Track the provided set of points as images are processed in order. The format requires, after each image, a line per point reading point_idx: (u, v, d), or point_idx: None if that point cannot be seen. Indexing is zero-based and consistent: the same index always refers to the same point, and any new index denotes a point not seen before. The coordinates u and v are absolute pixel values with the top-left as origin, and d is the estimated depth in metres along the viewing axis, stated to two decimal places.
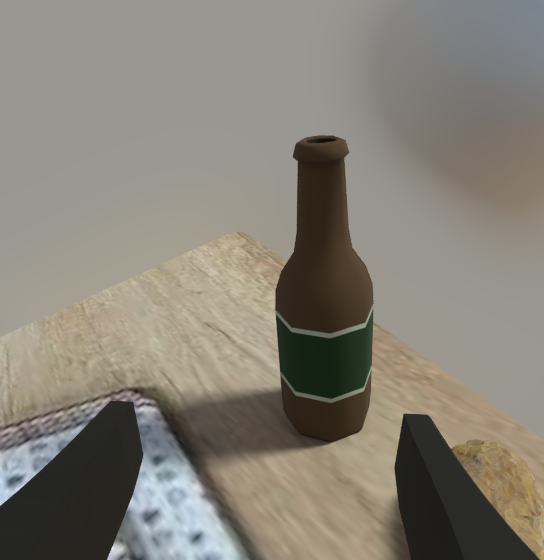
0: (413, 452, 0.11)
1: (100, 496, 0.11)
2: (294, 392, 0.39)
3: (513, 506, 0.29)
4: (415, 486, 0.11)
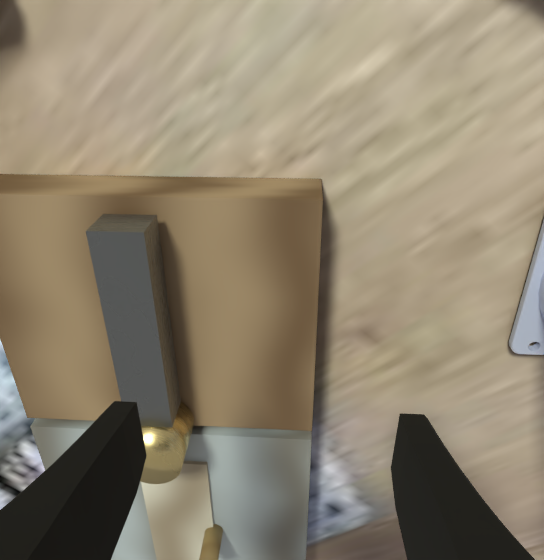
0: (409, 452, 0.11)
1: (104, 497, 0.11)
2: None
3: None
4: (411, 486, 0.11)
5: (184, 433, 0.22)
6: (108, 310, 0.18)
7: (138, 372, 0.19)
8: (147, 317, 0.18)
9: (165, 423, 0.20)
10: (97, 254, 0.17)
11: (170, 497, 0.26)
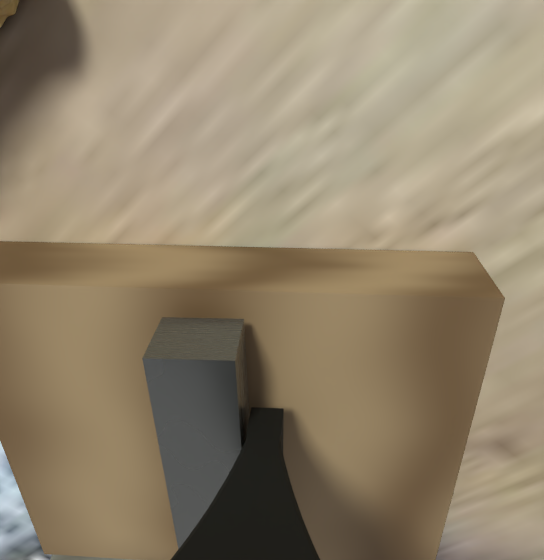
0: None
1: None
2: None
3: None
4: None
5: None
6: (171, 461, 0.12)
7: None
8: (229, 471, 0.12)
9: None
10: (159, 390, 0.11)
11: None
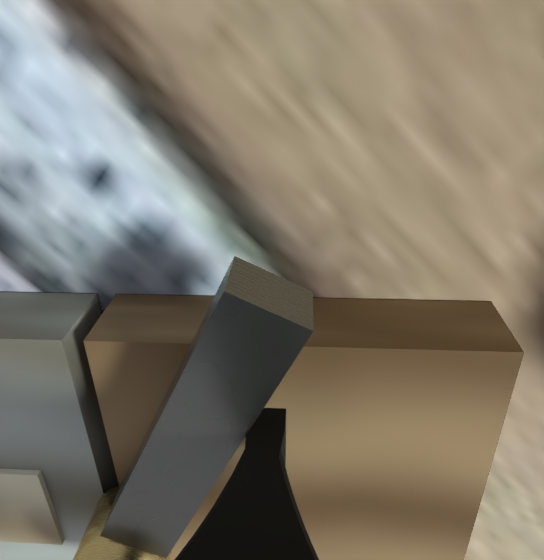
0: None
1: None
2: None
3: None
4: None
5: (169, 558, 0.15)
6: (179, 402, 0.11)
7: (166, 487, 0.12)
8: (232, 431, 0.11)
9: (160, 551, 0.14)
10: (218, 329, 0.10)
11: None
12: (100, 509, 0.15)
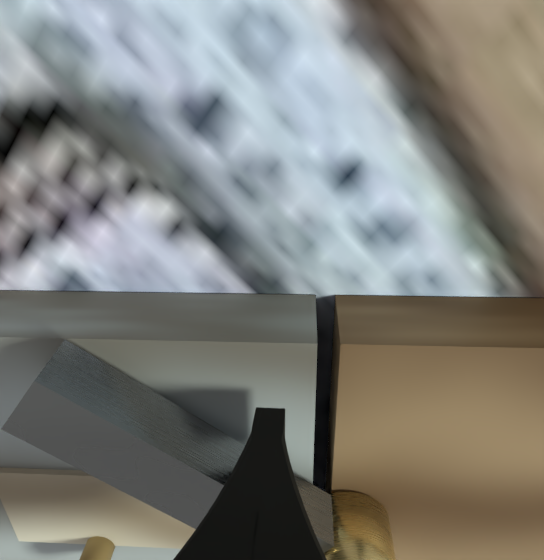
0: None
1: None
2: None
3: None
4: None
5: (365, 534, 0.14)
6: (118, 482, 0.12)
7: None
8: (154, 458, 0.12)
9: (321, 547, 0.13)
10: (38, 441, 0.12)
11: None
12: None
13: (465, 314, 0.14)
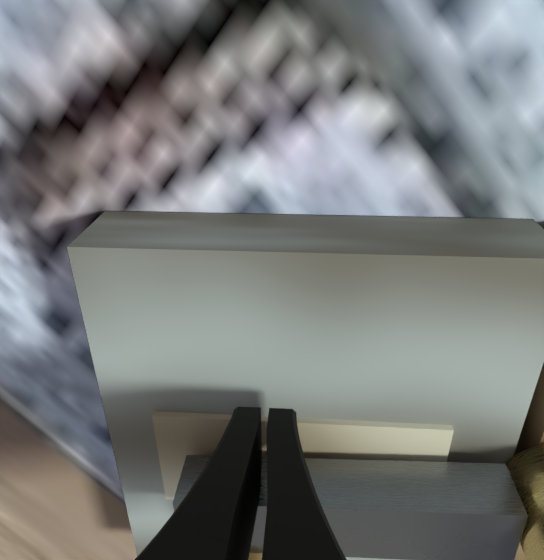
0: None
1: (247, 504, 0.11)
2: None
3: None
4: None
5: None
6: None
7: (404, 537, 0.13)
8: None
9: (516, 522, 0.12)
10: None
11: None
12: None
13: None
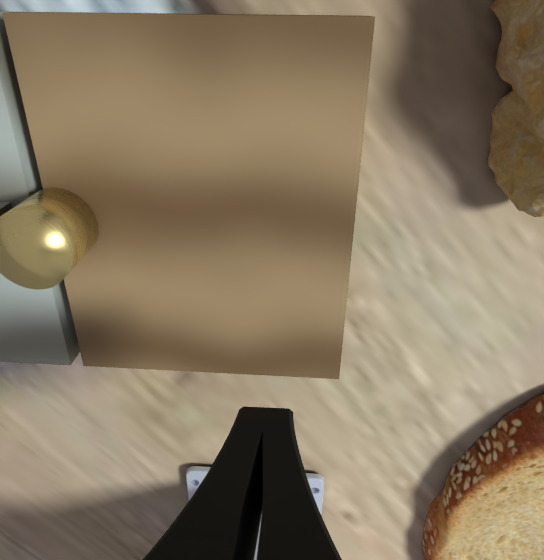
0: None
1: (253, 505, 0.11)
2: None
3: None
4: None
5: (21, 203, 0.17)
6: None
7: None
8: None
9: None
10: None
11: None
12: None
13: (132, 13, 0.16)
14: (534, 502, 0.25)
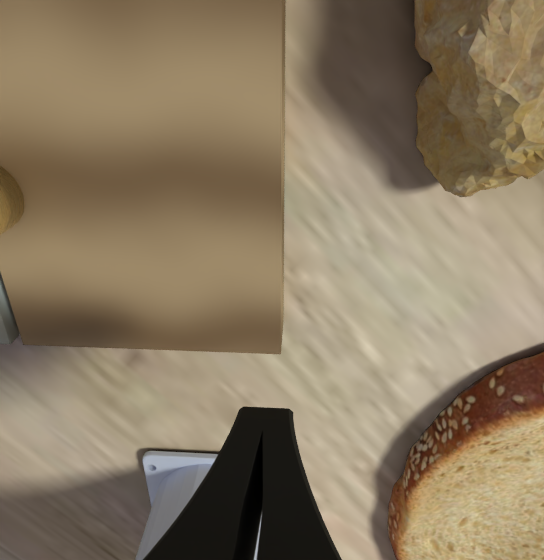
0: None
1: (253, 505, 0.11)
2: None
3: None
4: None
5: None
6: None
7: None
8: None
9: None
10: None
11: None
12: None
13: None
14: (492, 481, 0.25)
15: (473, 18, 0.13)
